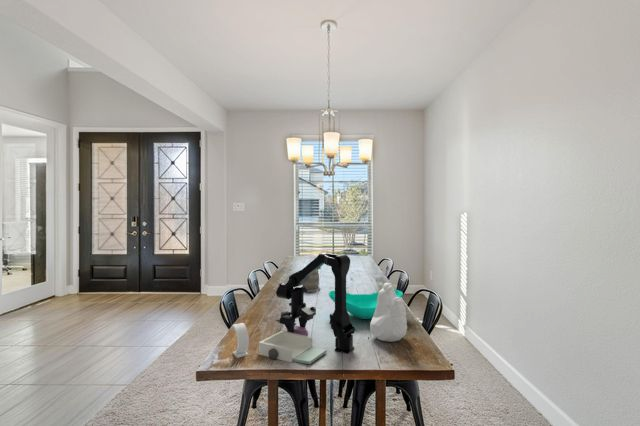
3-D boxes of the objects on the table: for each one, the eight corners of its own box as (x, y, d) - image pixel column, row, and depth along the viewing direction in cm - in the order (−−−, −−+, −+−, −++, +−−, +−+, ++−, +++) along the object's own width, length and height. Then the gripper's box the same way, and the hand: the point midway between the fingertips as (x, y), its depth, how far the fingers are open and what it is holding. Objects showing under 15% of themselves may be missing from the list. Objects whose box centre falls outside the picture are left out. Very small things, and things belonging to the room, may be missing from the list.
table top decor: (330, 326, 195) (330, 300, 195) (326, 310, 223) (326, 287, 222) (409, 325, 198) (410, 298, 197) (395, 309, 225) (395, 286, 225)
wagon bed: (313, 347, 168) (313, 336, 168) (288, 363, 152) (288, 350, 152) (283, 340, 176) (283, 329, 176) (256, 355, 160) (256, 343, 160)
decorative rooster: (368, 331, 188) (368, 280, 187) (401, 331, 188) (401, 279, 187) (376, 352, 163) (376, 293, 162) (414, 352, 163) (414, 292, 162)
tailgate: (311, 350, 166) (326, 352, 162) (293, 361, 154) (309, 364, 151) (310, 347, 166) (326, 349, 162) (293, 358, 154) (309, 361, 151)
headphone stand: (243, 351, 164) (243, 322, 164) (249, 356, 159) (248, 326, 159) (232, 353, 162) (232, 324, 161) (238, 358, 157) (238, 328, 156)
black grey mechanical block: (292, 317, 212) (293, 309, 212) (299, 321, 206) (299, 312, 205) (271, 321, 205) (271, 312, 205) (278, 325, 199) (278, 316, 199)
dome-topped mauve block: (309, 338, 180) (309, 328, 179) (304, 341, 176) (304, 331, 176) (290, 333, 185) (290, 324, 185) (284, 336, 181) (284, 327, 181)
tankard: (312, 293, 262) (312, 270, 262) (297, 290, 269) (297, 268, 268) (328, 287, 279) (328, 266, 278) (313, 285, 286) (313, 264, 285)
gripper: (298, 308, 167) (298, 344, 168) (323, 299, 183) (323, 332, 183) (278, 304, 174) (278, 339, 174) (304, 295, 189) (304, 327, 190)
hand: (297, 334), depth 180 cm, fingers open, 7 cm apart
